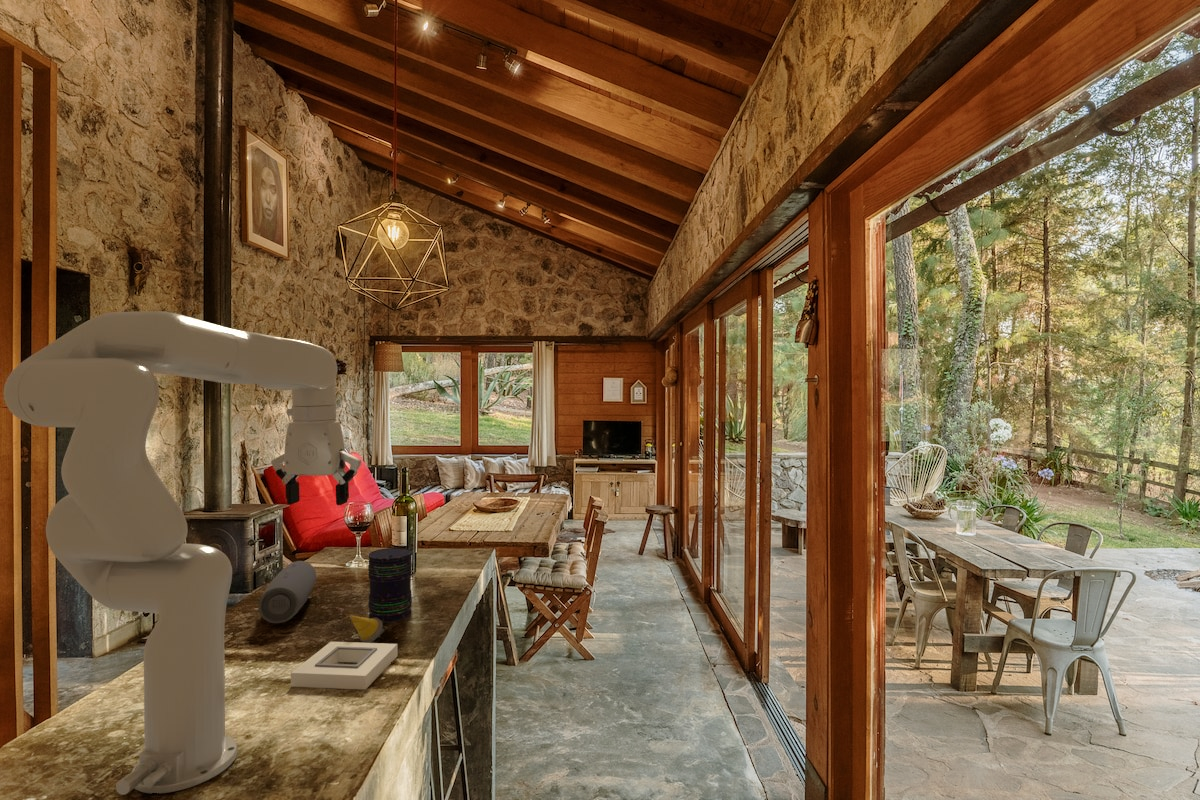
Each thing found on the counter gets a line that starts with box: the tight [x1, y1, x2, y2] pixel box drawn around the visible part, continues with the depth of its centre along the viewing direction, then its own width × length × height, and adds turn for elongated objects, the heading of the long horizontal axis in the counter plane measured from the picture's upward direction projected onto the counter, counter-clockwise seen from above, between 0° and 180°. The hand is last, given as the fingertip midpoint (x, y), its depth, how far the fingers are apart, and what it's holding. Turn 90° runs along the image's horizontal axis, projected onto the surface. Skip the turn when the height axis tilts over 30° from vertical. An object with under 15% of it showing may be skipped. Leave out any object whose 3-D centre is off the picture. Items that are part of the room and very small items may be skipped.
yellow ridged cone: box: [349, 615, 385, 643], centre depth 131 cm, size 5×5×10 cm
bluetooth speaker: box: [258, 560, 317, 624], centre depth 150 cm, size 23×9×10 cm, turn 15°
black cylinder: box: [367, 547, 413, 624], centre depth 147 cm, size 10×10×15 cm
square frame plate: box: [290, 641, 399, 691], centre depth 118 cm, size 14×14×3 cm
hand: (317, 503), depth 119 cm, fingers open, 9 cm apart
